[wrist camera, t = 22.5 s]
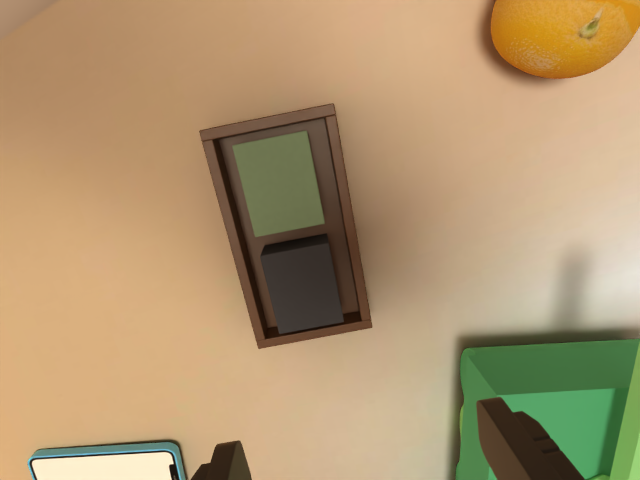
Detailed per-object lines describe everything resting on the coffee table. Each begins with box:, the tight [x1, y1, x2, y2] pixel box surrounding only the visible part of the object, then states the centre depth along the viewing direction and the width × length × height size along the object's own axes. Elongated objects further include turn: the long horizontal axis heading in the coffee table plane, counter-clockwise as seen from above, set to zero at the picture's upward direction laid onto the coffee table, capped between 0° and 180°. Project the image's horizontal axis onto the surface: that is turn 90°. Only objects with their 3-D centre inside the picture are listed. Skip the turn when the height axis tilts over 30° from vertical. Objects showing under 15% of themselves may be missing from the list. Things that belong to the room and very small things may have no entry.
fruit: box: [491, 0, 640, 79], centre depth 24 cm, size 9×8×8 cm
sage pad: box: [232, 131, 325, 237], centre depth 28 cm, size 7×6×3 cm
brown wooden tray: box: [199, 104, 372, 349], centre depth 30 cm, size 19×10×3 cm, turn 11°
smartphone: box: [28, 442, 186, 480], centre depth 38 cm, size 8×1×15 cm
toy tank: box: [456, 339, 640, 480], centre depth 32 cm, size 18×12×35 cm
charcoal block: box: [260, 234, 344, 334], centre depth 31 cm, size 7×6×3 cm
